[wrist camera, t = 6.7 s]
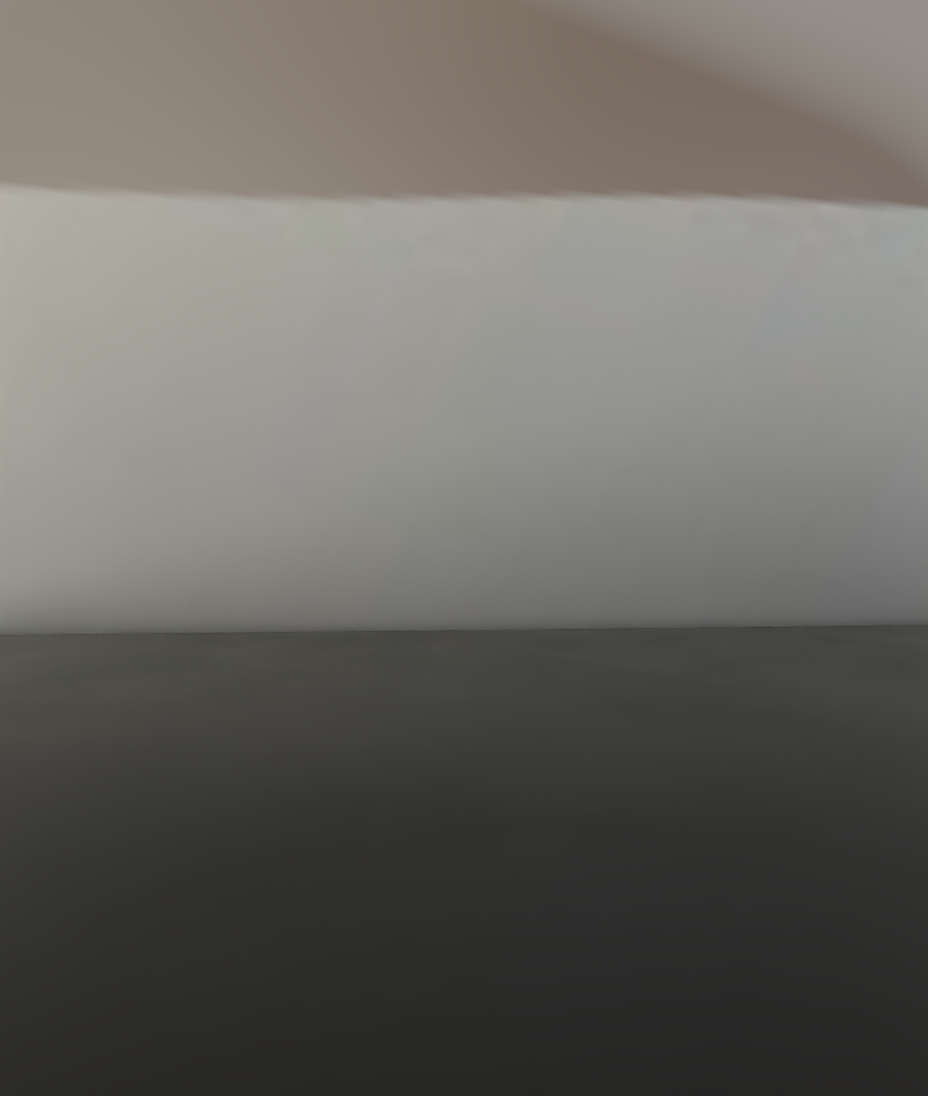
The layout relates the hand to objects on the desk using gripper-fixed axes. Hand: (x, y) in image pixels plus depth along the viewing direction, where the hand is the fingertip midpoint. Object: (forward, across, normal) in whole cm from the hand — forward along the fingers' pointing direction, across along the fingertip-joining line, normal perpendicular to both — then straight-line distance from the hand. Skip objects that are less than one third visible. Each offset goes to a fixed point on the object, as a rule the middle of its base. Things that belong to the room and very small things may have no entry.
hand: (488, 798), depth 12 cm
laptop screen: (-5, 0, -2) cm, 5 cm away
